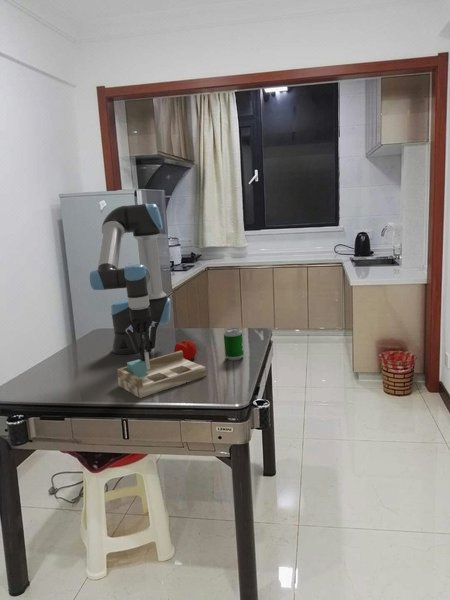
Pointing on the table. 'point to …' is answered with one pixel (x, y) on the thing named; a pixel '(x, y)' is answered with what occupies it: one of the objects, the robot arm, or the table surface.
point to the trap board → (161, 375)
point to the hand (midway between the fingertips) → (146, 368)
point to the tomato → (186, 349)
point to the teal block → (137, 368)
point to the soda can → (233, 344)
